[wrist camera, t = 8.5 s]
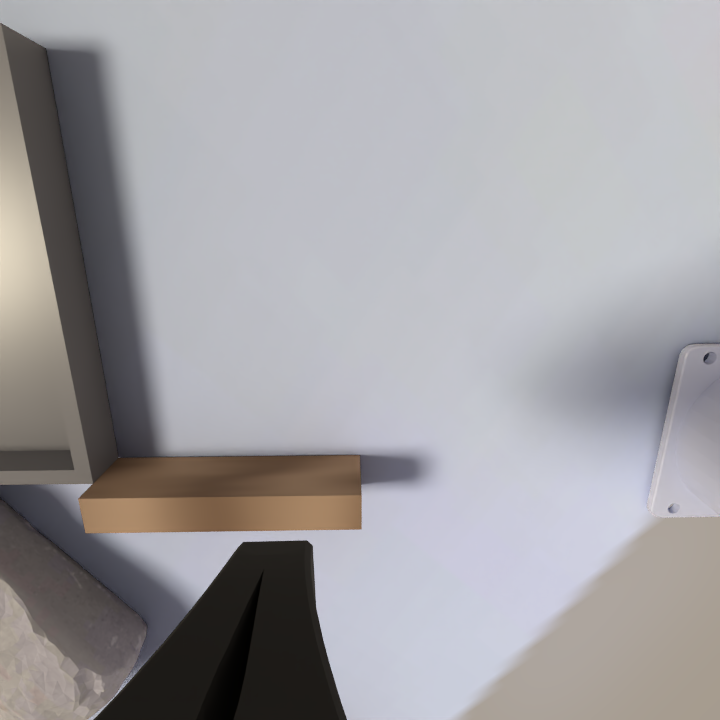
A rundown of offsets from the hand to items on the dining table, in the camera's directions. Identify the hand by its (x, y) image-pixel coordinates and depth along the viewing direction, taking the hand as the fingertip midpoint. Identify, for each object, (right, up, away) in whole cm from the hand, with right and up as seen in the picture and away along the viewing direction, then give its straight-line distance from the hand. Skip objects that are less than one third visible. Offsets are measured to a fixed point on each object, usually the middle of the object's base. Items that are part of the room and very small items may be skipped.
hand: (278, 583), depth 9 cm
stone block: (-16, -7, +13) cm, 22 cm away
